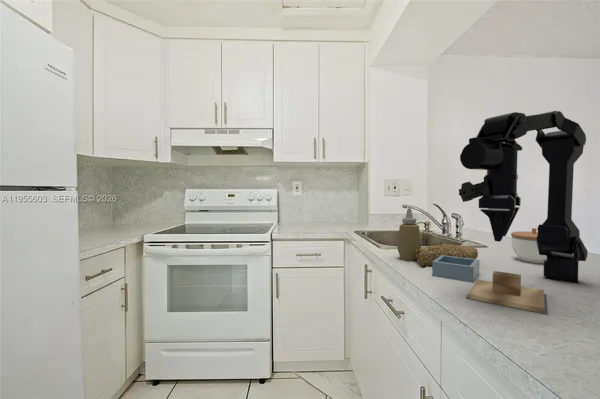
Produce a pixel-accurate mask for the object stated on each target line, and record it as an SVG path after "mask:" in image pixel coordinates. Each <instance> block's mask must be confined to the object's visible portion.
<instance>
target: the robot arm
mask: <svg viewBox="0 0 600 399" xmlns="http://www.w3.org/2000/svg"><path fill="white" fill-rule="evenodd" d="M553 128H557V130H555V131H551V132H550V131H549V132H546V133H545V132H544V131H543V130H549V129H553ZM530 131H531V132H532V131H536V132H537V133H536V136H535V141H536V144H538V146H539V147H540V148H541V155H542V157H543V158H544V160H545V161H546V162H547V163H548V167H549V168H548V186H547V187H548V191H547V192H548V194H547V212H546V213H547V214H546V215H547V217H546V219H545V221H544V222H542V224H538V226H537V232H538V235H537V246H538V251H539V255H546V256H547V260H544V263H543V276H544V277H545V279H546V280H551V281H558V282H565V283H572V284H580V281H579V262H586V261H587V258H588V252H589V251H588V249H587V247H586V246H585V243H584V242H583V240H582V239H581V237H580V235H581V234H580V229H579V228H578V227H577V226H576V223H575V222H574V221H573V220H572V216H573V215H572V214H573V213H572V212H573V190H574V189H573V188H574V166H575V163H576V162H577V161H578V160H579V159H580V157H581V156H582V155H583V154H584V148H585V147H584V146H586V143H587V136H586V133H585V132H584V130H583V128H582V127H581V126H580V124H579V123H578V122H576V121H573V120H571V119H569V118H567V117H565V115H564V114H563V112H561V110H554V111H553V110H552V111H547V112H544V113H543V112H542V113H539V114H538V113H537V114H531V115H526V114H525V113H523V112H518V111H514V112H511V113H510V112H509V113H506V114H505V113H504V114H501V115H496V116H492V117H488V118H486V119H484V121H483V124H482V125H481V128H480V129H479V131H478V133H477V135H476V137H475V136H474V137H470V138H469V139H468V144H466V145H465V146H464V147H463V149H462V150H461V153H460V156H459V161H460V163H461V165H462V166H463V167H464V168H465V169H468V170H480V171H485V170H486V174H485V176H483V181H482V182H479V183H474V184H473V183H472V182H471V181H467V182H464V183H461V187H460V188H459V189H458V195H459V196H460V198H461V200H462V202H463V203H465V202H469V201H472V200H474V199H477V198H479V199H478V209H479V211H480V212H481V213H483V214H484V215H485V216H486V217H488V220H489V223H490V228H491V231H492V236H493V239H494V242H501V241H503V240H502V239H503V237H506V236H507V234H508V232H509V230H510V228H511V226H512V224H513V223H514V220H515V218H516V216H517V213H518V212H519V209H520V207H521V200H522V198H521V197H520V196H519V195H518V191H517V188H518V179H519V175H518V152H520V151H523V146H521V145H520V144H519V143H518V142H517V141H516V139H520V138H521V137H524V136H525V135H527V134H528V133H529V132H530Z"/></svg>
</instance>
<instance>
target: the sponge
mask: <svg viewBox="0 0 600 399" xmlns="http://www.w3.org/2000/svg"><path fill="white" fill-rule="evenodd" d="M441 255H445V256H453V257H461V258H469V259H478V256H479V252H478V249H477V248H475V247H473V246H465V245H460V244H459V245H456V244H451V243H449V244H448V243H443V244H438V245H434V244H432V245H428V246H424V247H421V248H420V249H417V250H416V254H415V256H416V257H417V261H418V262H419V263H420V265H421V266H422V267H432V262H433V261H434V260H435V259H437V258H438V257H440V256H441Z"/></svg>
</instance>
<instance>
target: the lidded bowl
mask: <svg viewBox="0 0 600 399" xmlns="http://www.w3.org/2000/svg"><path fill="white" fill-rule="evenodd" d="M510 235H511V246H512V249H513V252H514V254H516V256H517V257H518V258H519V259H520V261H523V262H527V263H533V264H544V260H547V256H546V255H539V251H538V246H537V235H538V231H537V228H535V227H532V228H531V231H512V232H511V233H510Z"/></svg>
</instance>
